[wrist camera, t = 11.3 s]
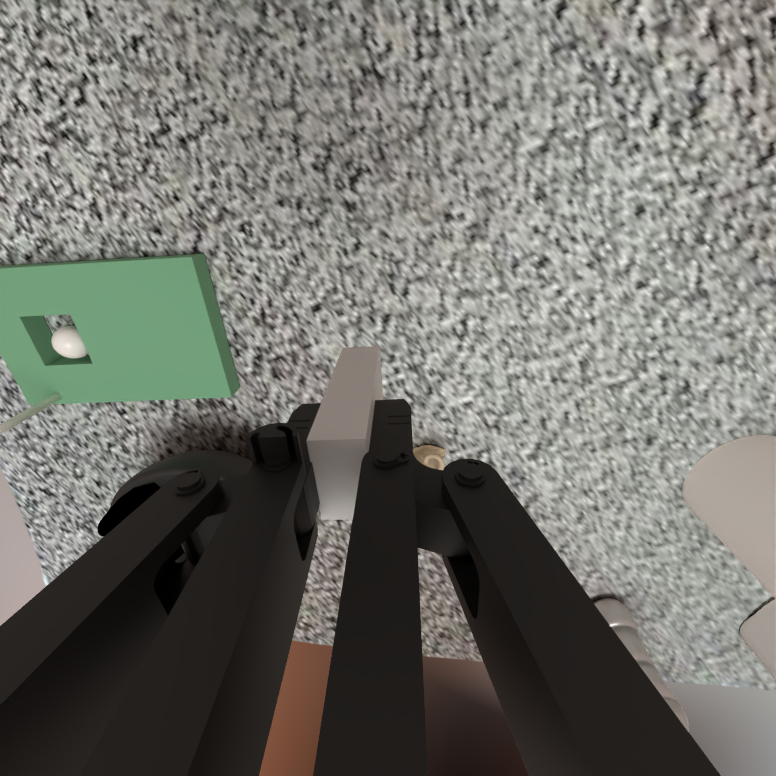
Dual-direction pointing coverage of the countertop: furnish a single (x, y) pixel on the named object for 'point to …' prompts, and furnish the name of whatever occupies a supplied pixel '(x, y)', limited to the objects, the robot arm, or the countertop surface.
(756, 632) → the toilet tissue
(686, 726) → the plastic bottle
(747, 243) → the countertop surface
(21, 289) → the green
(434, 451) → the decorative ornament
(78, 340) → the ball
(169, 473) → the coal bowl
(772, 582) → the canister
